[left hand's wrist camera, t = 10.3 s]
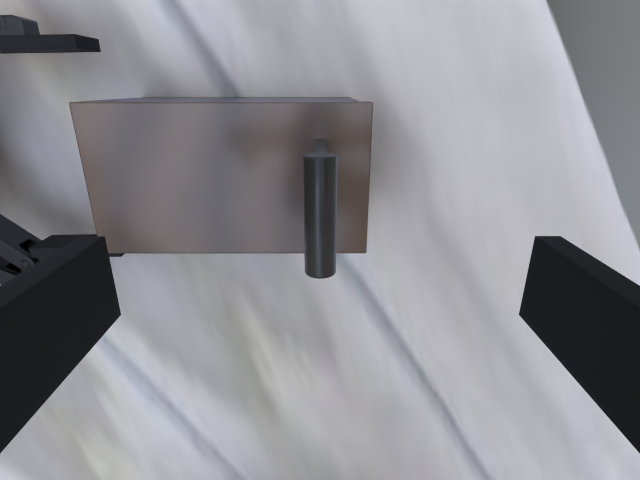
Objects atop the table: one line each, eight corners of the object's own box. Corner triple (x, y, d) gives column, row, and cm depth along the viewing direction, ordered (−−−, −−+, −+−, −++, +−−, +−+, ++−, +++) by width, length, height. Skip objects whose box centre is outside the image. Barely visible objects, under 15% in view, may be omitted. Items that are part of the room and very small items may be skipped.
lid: (370, 101, 24) (396, 109, 16) (364, 247, 27) (383, 314, 19) (77, 101, 24) (-43, 109, 16) (107, 248, 27) (21, 314, 19)
